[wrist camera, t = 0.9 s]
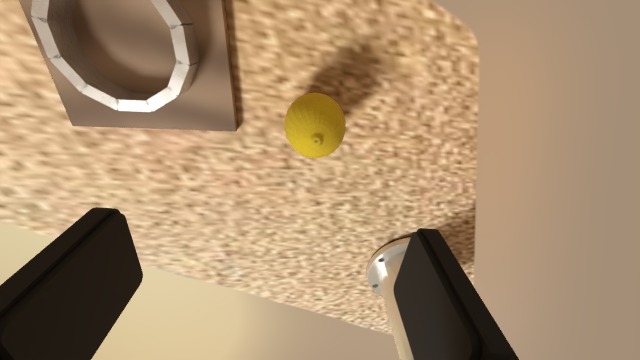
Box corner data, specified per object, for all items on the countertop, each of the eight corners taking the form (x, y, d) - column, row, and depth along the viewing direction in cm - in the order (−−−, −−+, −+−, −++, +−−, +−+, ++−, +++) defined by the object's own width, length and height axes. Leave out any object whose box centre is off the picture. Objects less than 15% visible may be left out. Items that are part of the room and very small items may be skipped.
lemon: (340, 83, 27) (352, 105, 20) (340, 136, 30) (350, 171, 23) (285, 85, 27) (277, 108, 20) (289, 138, 30) (284, 174, 23)
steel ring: (207, 106, 27) (198, 113, 24) (89, 101, 26) (69, 109, 24) (184, -36, 21) (170, -43, 19) (33, -47, 20) (1, -55, 18)
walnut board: (238, 128, 29) (235, 131, 28) (79, 122, 28) (72, 125, 27) (216, -73, 21) (212, -77, 20) (-8, -91, 20) (-22, -95, 19)
